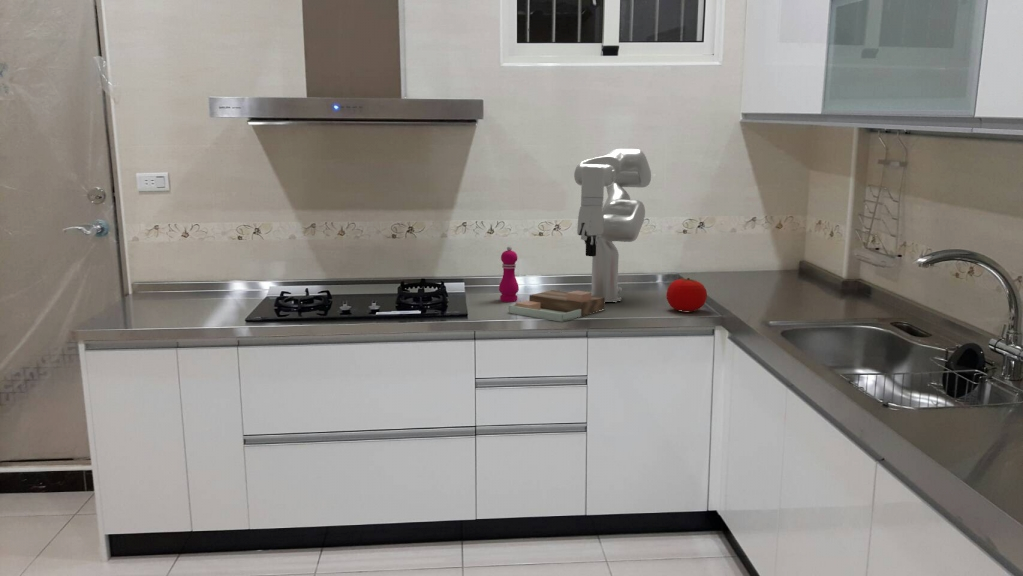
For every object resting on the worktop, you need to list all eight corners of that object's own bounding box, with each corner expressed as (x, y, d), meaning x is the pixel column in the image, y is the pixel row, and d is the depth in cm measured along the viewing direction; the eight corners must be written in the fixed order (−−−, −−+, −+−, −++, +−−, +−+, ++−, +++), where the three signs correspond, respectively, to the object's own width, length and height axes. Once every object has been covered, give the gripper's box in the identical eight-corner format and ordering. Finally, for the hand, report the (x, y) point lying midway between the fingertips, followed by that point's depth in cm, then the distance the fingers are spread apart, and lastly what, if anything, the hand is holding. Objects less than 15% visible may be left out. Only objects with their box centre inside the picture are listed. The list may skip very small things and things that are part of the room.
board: (552, 302, 290) (552, 290, 290) (604, 310, 277) (604, 297, 276) (529, 307, 279) (529, 295, 279) (581, 316, 266) (582, 303, 265)
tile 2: (576, 297, 275) (576, 290, 275) (591, 299, 271) (591, 292, 271) (566, 300, 270) (566, 292, 270) (581, 302, 267) (581, 295, 266)
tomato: (662, 307, 284) (664, 274, 282) (700, 307, 284) (702, 275, 282) (670, 314, 271) (671, 280, 269) (710, 315, 271) (712, 281, 269)
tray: (528, 308, 279) (528, 301, 279) (581, 316, 266) (581, 309, 265) (508, 312, 271) (508, 305, 270) (562, 321, 257) (562, 314, 257)
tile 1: (515, 302, 272) (515, 310, 272) (529, 305, 268) (529, 312, 268) (526, 300, 276) (526, 307, 277) (540, 302, 273) (540, 309, 273)
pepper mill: (495, 301, 291) (495, 246, 288) (504, 298, 297) (505, 244, 294) (512, 303, 288) (513, 247, 284) (521, 299, 294) (522, 245, 291)
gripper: (594, 200, 279) (593, 252, 282) (570, 202, 267) (569, 257, 270) (613, 201, 274) (611, 254, 277) (589, 204, 263) (587, 259, 266)
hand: (590, 255), depth 274 cm, fingers closed
